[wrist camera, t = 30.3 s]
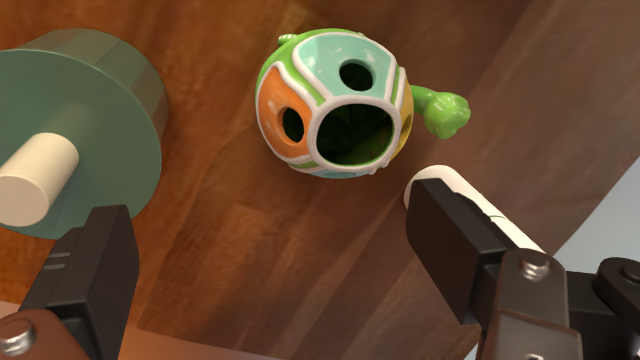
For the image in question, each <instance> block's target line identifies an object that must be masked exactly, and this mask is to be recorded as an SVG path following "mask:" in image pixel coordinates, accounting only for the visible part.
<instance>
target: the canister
mask: <svg viewBox="0 0 640 360" xmlns="http://www.w3.org/2000/svg"><path fill="white" fill-rule="evenodd" d="M18 48H41V49H48V50H55V51H59V52H63V53H66V54H70V55H73V56H76V57H79V58H81V59H84V60H86V61H89V62H91V63H93V64H95V65H96V66H98V67H100V68H102V69H104V70H105V71H107V72H108V73H110V74H111V75H113V76H115V77H116V78H117V79H118V80H120V81H121V82H122V83H123V84H124V85H126V86H127V87H128V88H129V89H130V90H131V91H132V92H133V93H134V94H135V95H136V96H137V97H138V99H139V100H140V101H141V103H142V104H143V105H144V106H145V108H146V109H147V111H148V113H149V114H150V116H151V118H152V120H153V122H154V124H155V126H156V129H157V131H158V134H159V138H160V142H161V141H162V137H163V133H164V130H165V126H166V123H167V119H168V115H169V111H168V100H167V95H166V91H165V87H164V85H163V83H162V80H161V78H160V77H159V75H158V73H157V71H156V70H155V68H154V67H153V66H152V64H151V63H150V62H149V61H148V60H147V59H146V58H145V56H143V55H142V54H141V53H140V52H139V51H138V50H137V49H135V48H134V47H132V46H131V45H130V44H128V43H126V42H125V41H123V40H121V39H119V38H117V37H115V36H112V35H110V34H107V33H104V32H100V31H97V30H91V29H83V28H71V29H62V30H54V31H52V32H49V33H47V34H45V35H43V36H41V37H39V38H37V39H35V40H32V41H30V42H28V43H26V44H24V45H22V46H20V47H18Z"/></svg>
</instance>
